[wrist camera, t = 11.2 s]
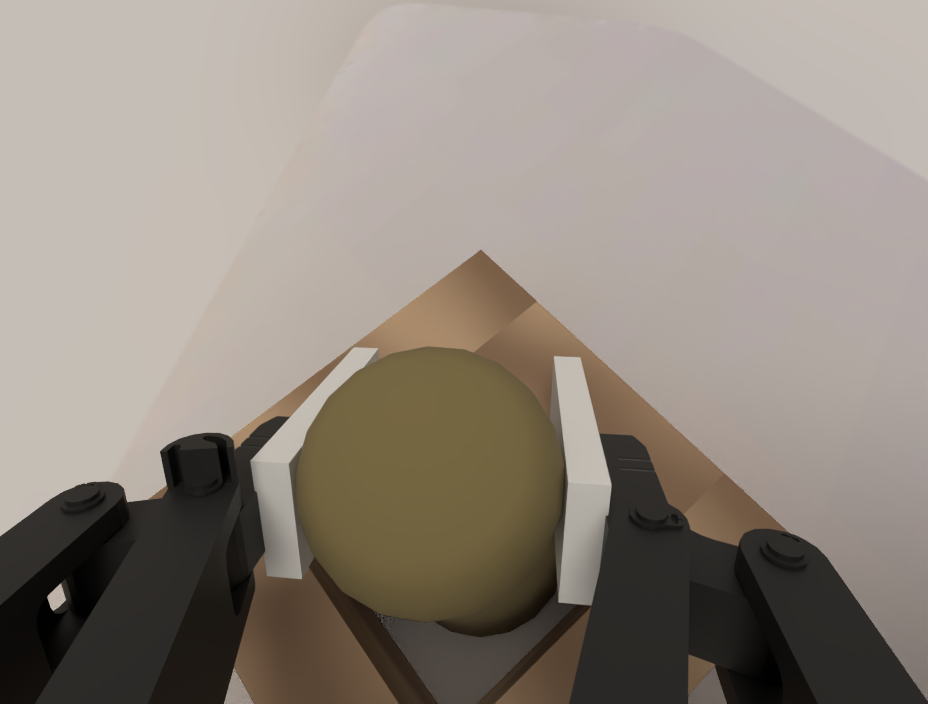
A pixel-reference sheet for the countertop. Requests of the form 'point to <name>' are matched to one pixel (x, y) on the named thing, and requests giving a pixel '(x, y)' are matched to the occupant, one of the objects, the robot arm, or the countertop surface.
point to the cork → (435, 491)
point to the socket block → (531, 361)
